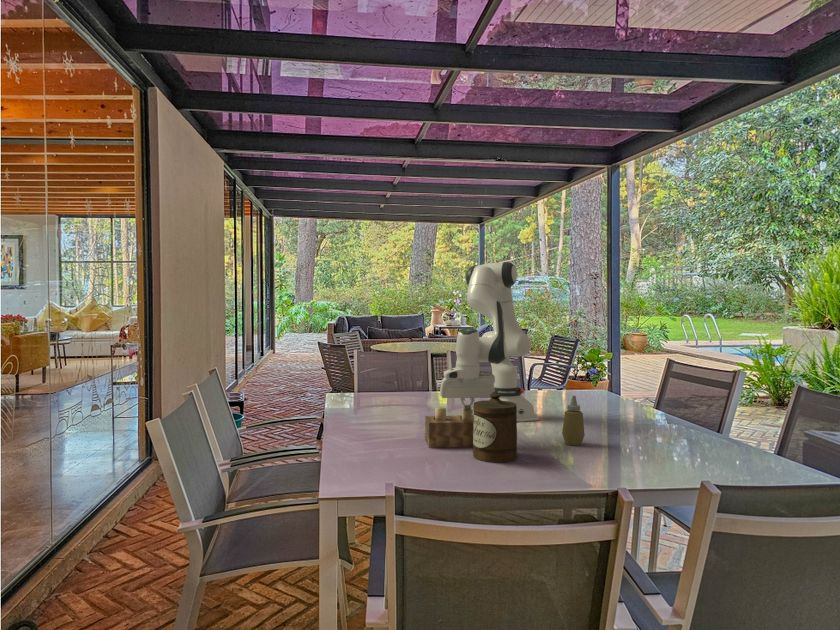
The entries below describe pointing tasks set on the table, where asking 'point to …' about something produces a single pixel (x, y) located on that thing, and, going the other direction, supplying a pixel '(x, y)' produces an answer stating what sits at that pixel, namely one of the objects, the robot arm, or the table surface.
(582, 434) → the squeeze bottle
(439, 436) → the socket block
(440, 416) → the peg
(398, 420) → the table surface
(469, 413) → the peg
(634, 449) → the table surface
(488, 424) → the wooden container
